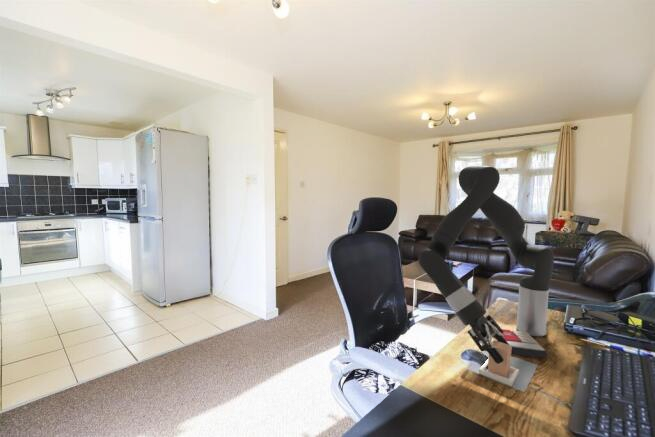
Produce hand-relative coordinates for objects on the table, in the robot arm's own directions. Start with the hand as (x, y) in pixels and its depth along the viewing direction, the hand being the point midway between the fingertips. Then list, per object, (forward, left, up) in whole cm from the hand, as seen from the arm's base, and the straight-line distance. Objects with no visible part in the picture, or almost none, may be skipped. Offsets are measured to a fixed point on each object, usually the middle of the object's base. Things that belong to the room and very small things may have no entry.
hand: (505, 356), depth 83 cm
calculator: (-24, -2, -7) cm, 25 cm away
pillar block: (0, -1, -5) cm, 6 cm away
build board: (-4, -1, -7) cm, 8 cm away
